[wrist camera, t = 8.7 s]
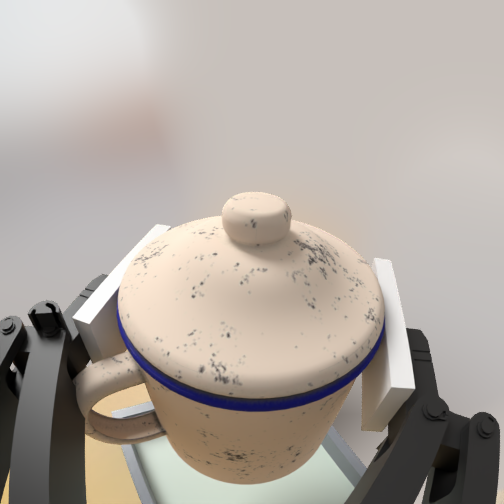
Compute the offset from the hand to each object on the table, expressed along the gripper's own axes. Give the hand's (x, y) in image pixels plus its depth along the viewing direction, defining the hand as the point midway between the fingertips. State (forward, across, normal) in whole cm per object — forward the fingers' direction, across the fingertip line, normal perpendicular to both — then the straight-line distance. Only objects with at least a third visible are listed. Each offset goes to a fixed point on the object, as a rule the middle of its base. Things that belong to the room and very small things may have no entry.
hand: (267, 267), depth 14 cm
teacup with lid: (-4, -1, -7) cm, 9 cm away
